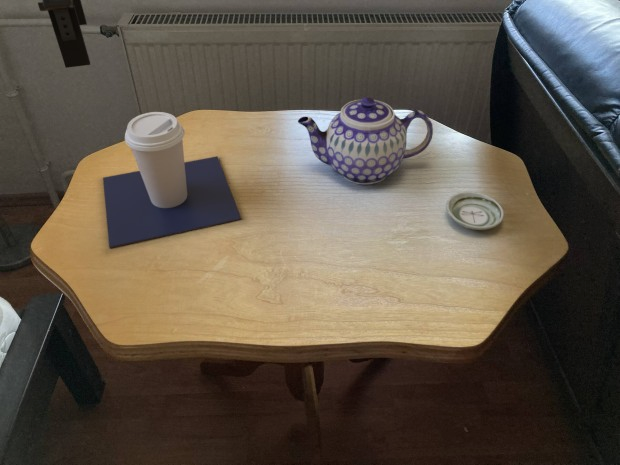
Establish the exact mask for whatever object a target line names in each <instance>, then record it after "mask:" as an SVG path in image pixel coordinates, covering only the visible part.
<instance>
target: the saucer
mask: <svg viewBox="0 0 620 465" xmlns="http://www.w3.org/2000/svg"><path fill="white" fill-rule="evenodd" d="M445 210H446V212H447V215H448V216H449V217H450V218H451V220H453V221H454V222H455V223H457V225H460V226H462V227H464V228H466V229H470V230H474V231H475V230H476V231H486V230H491V229H494V228H496V227H497V226H499V225H500V224H501V223H502V222H503V220H504V217H505V213H504V212H505V211H504V208H503V207H502V205H501V204H500V203H499V201H497V200H495V199H494V198H492V197H491V196H489V195H488V194H487V195H486V194H484V193H481V192H477V191H461V192H457V193H455V194H452V195H451V196H450V197H449V198H448V199H447V201H446V204H445Z"/></svg>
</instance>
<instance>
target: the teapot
mask: <svg viewBox="0 0 620 465" xmlns="http://www.w3.org/2000/svg"><path fill="white" fill-rule="evenodd" d="M415 119H421V120H422V121H424V123H425V125H426V135H425V137H424V140H423V141H422V142H421V143H420V144H418V145H417V146H415V147H413V148H411V149H407V137H408V136H407V134H408V130H409V127H410V125H411V123H412V121H413V120H415ZM297 123H298V124H300V125H302V126H303V127H305V128H306V130H307V132H308V136H309V140H310V141H309V142H310V146H311V149H312V152H313V154H314V156H315V158H317V160H319V161H320V162H322V163H323V164H326V165H329V166H330V167H331V168H332V169H334V170H335V171H336V172H337V173H338V174H339V175H340V176H342V177H343V178H344V179H345V180H347V181H348V182H350V183H353V184H356V185H357V184H358V185H373V184H377V183H381V182H383V181H384V180H386V178H387V177H389V176H390V175H392V174H393V173H394V172H395V171H397V169H399V167H400V166H401V164H402V162H403V160H404V159H409V158H412V157H415V156H417V155H419V154H420V153H422V152H424V151H425V150H426V149H427V148H428V146H429V145H430V144H431V141H432V139H433V135H434V126H433V123H432V121H431V120H430V118H429V117H428V116H427V114H426V113H424V112H423V111H422V110H418V109H416V110H413V111H412V112H410V113H408V114H407V115H406V116H405V117H404V118H399V116H397V114H396V113H395V111H394V109H393V107H391V105H389V104H388V103H386V102H383V101H381V100H377V99H374V98H373V97H370V96H367V97H363V98H361V99H355V100H351V101H348V102H347V103H345V104H344V105H343V106H342V107H341V109H340V112H338V113H337V114H336V115H334V117H333V118H332V119H331V121H330V122H329V123H328V126H327V128H326V129H325V130H324V131H322V130H320V127H319V126H318V125H317V123H316V121H315V120H314V119H313V118H312V117H310V116H308V115H307V116H306V115H305V116H301V117H300V118H299V119H298V120H297Z"/></svg>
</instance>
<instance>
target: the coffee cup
mask: <svg viewBox="0 0 620 465" xmlns="http://www.w3.org/2000/svg"><path fill="white" fill-rule="evenodd" d="M126 126H127V127H126V130H125V134H124V142H125V144H126V146H128V147H129V148H130V149H131V150H130V151H131V152H132V155H133V157H134V161H135V163H136V165H137V168H138V171H140V173H141V176H142V178H143V181H144V184H145V186H146V189H147V192H148V194H149V197H150V200H151V202H152V204H153V205H155V206H157V207H160V208H172V207H176V206H178V205H180V204H182V203H183V202H184V201H185V200H186V198H187V186H186V175H185V164H184V162H185V153H184V141H183V138H184V137H185V132H186V131H185V129H184V127H183V124H182V123H181V122H180V121H179V120H178V119H177V118H176V116H175V115H173V114H171V113H168V112H163V111H152V112H151V111H150V112H146V113H142V114H139V115H137V116H135V117H133V118H132V119H131V120H130V121H129V122H128V123H127V125H126Z"/></svg>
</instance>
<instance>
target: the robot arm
mask: <svg viewBox="0 0 620 465" xmlns="http://www.w3.org/2000/svg"><path fill="white" fill-rule="evenodd" d="M37 6H38V9H39V11H40V12H47V13H48V16H49V19H50V22H51V25H52V29H53V32H54V35H55V38H56V41H57V44H58V48H59V51H60V54H61V57H62V61H63V63H64V67H65V68H67V69H68V68H75V67H84V66H91V61H90V57H89V53H88V49H87V46H86V42H85V39H84V36H83V31H82V28H81V26H86V25H88V22H87V19H86V15H85V10H84V8H83V4H82V0H41V1H39V2H37Z"/></svg>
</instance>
